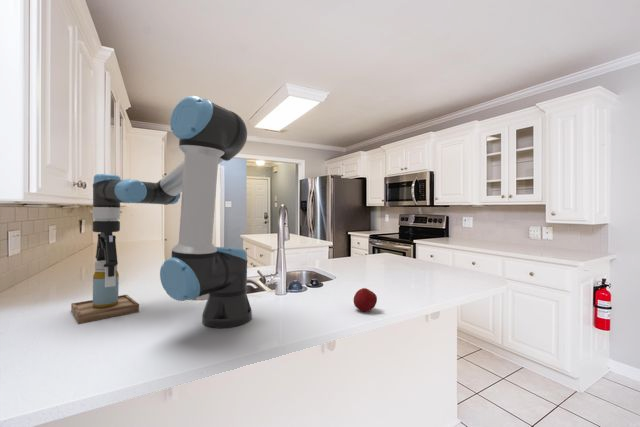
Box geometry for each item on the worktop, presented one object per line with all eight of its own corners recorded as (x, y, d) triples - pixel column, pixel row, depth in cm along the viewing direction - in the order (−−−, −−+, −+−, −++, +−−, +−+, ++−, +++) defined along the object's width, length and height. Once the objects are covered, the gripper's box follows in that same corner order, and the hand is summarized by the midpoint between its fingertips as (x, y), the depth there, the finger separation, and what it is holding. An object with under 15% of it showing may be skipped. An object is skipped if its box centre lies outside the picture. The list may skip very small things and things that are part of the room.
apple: (368, 316, 99) (369, 292, 99) (349, 310, 104) (349, 288, 104) (380, 311, 104) (380, 288, 104) (361, 306, 110) (361, 284, 110)
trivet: (138, 311, 100) (139, 304, 100) (78, 324, 88) (78, 315, 88) (126, 301, 111) (126, 294, 111) (71, 311, 99) (71, 303, 99)
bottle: (123, 302, 102) (123, 260, 102) (106, 309, 95) (107, 263, 95) (104, 302, 103) (105, 259, 103) (87, 308, 96) (87, 262, 96)
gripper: (129, 221, 93) (128, 287, 93) (111, 219, 111) (110, 275, 111) (100, 221, 88) (99, 291, 88) (86, 219, 105) (85, 278, 105)
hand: (105, 282), depth 99 cm, fingers open, 13 cm apart
